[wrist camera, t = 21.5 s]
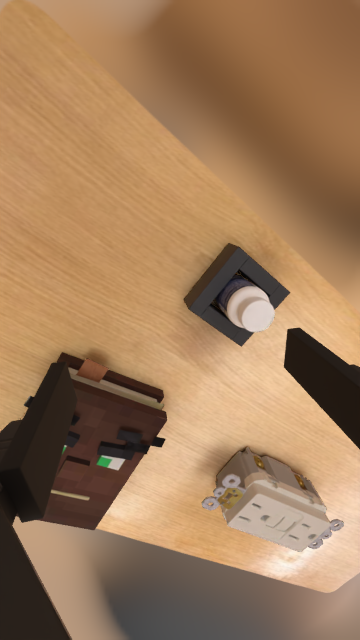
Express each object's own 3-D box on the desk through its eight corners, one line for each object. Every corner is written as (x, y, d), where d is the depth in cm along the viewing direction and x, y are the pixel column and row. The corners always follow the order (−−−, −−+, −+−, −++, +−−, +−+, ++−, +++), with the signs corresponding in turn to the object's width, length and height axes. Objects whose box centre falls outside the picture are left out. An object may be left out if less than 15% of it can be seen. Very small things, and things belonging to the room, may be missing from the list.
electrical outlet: (290, 511, 61) (315, 564, 52) (188, 469, 54) (195, 522, 44) (325, 478, 58) (357, 527, 49) (222, 429, 51) (237, 476, 42)
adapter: (183, 299, 39) (188, 309, 35) (228, 242, 36) (238, 246, 33) (232, 334, 42) (241, 346, 38) (276, 284, 40) (290, 292, 36)
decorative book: (-32, 525, 39) (42, 363, 31) (-7, 477, 46) (59, 335, 38) (94, 545, 45) (183, 414, 37) (100, 500, 52) (176, 382, 44)
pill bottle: (206, 300, 39) (226, 327, 30) (225, 267, 38) (252, 285, 29) (235, 315, 41) (263, 344, 32) (255, 284, 39) (289, 306, 30)
